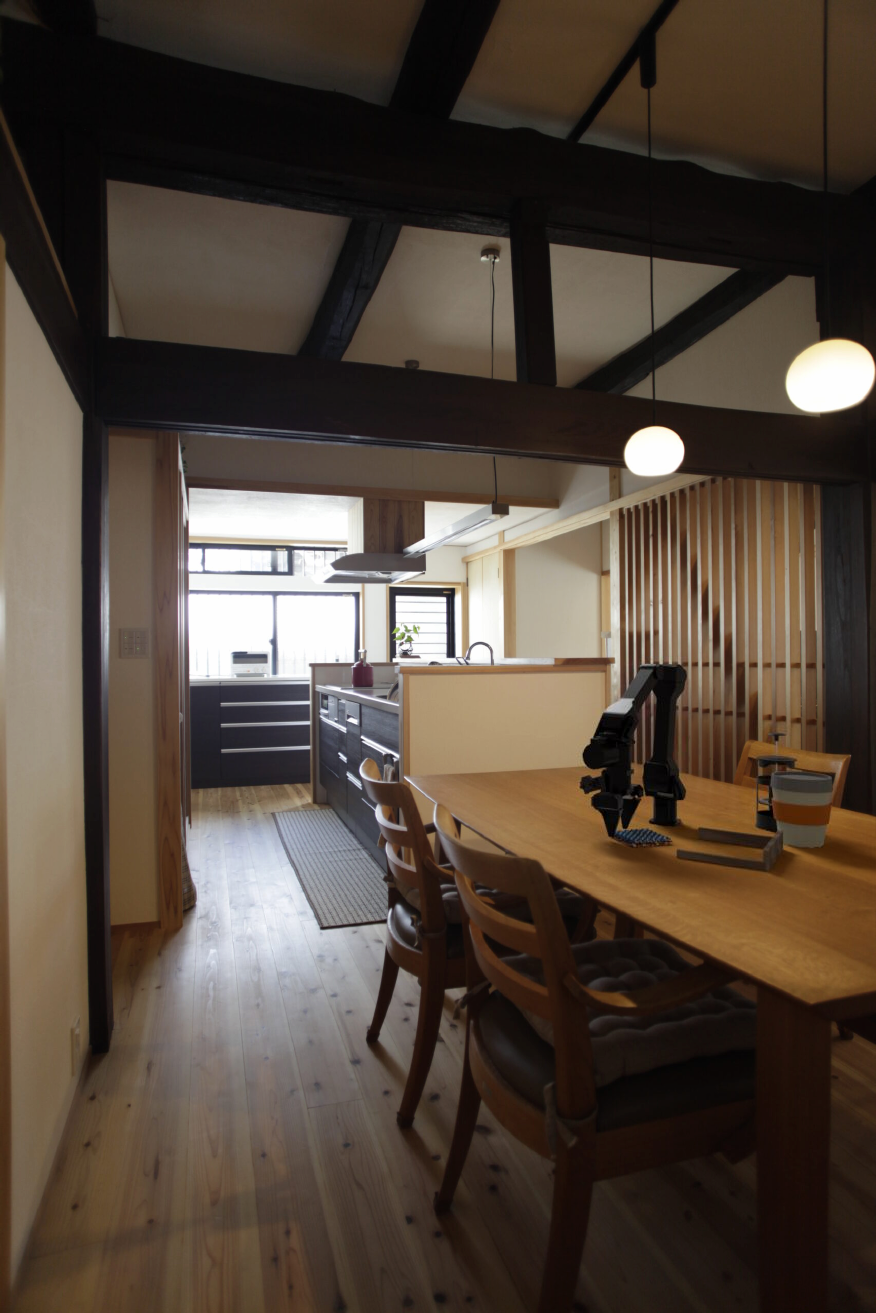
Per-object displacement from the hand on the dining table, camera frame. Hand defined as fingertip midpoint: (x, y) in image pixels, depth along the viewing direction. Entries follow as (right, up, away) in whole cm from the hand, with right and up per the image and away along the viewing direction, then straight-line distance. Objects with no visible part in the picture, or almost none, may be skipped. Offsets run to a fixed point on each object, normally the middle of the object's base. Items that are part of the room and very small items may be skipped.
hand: (618, 832), depth 166 cm
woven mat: (+4, -2, -3) cm, 5 cm away
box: (+20, -1, -13) cm, 24 cm away
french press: (+41, -1, +10) cm, 42 cm away
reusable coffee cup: (+40, -1, -5) cm, 40 cm away
